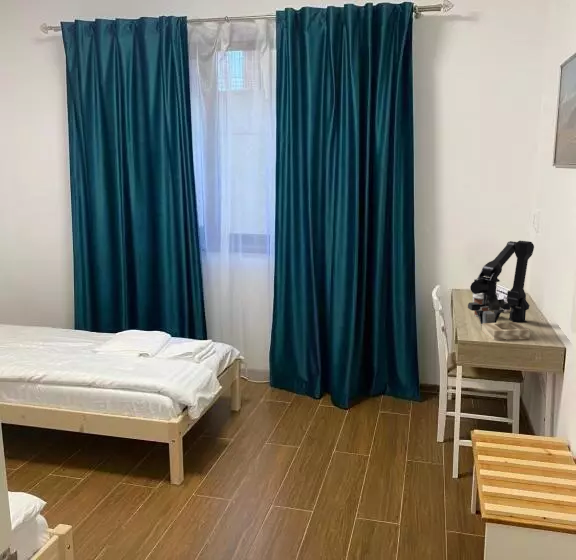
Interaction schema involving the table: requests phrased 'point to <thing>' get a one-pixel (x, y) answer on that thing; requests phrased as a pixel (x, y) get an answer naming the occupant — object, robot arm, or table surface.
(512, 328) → the well block
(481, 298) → the coffee cup
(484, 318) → the bracket
